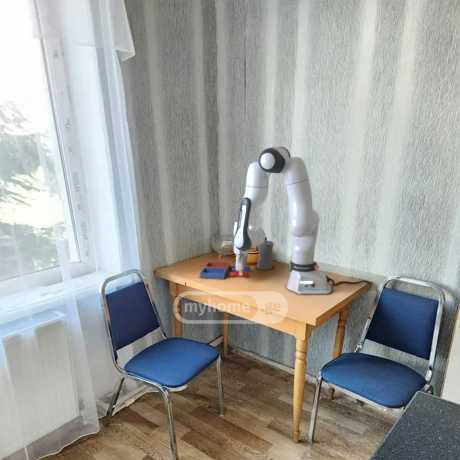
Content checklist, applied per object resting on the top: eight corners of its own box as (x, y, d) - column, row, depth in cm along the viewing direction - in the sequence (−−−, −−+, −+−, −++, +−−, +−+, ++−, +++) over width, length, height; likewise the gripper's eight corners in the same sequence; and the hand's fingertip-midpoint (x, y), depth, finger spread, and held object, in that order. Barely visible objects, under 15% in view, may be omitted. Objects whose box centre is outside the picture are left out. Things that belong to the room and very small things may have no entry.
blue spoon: (250, 270, 228) (250, 265, 227) (249, 272, 225) (249, 267, 224) (232, 269, 230) (232, 264, 229) (231, 271, 227) (231, 266, 225)
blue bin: (226, 273, 223) (226, 268, 222) (223, 279, 215) (223, 274, 214) (204, 272, 225) (204, 267, 224) (200, 277, 217) (200, 272, 216)
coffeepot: (278, 268, 230) (279, 238, 223) (265, 271, 225) (266, 241, 218) (261, 262, 242) (262, 233, 234) (249, 264, 237) (249, 235, 229)
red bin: (230, 267, 233) (230, 262, 232) (227, 272, 225) (227, 267, 224) (208, 266, 235) (208, 261, 234) (204, 271, 227) (204, 266, 226)
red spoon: (248, 275, 220) (248, 270, 219) (247, 277, 217) (247, 272, 216) (229, 274, 222) (229, 269, 221) (228, 276, 218) (228, 271, 217)
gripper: (244, 255, 203) (244, 280, 208) (249, 244, 221) (249, 267, 227) (232, 254, 204) (232, 279, 209) (238, 244, 222) (238, 267, 228)
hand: (241, 273), depth 218 cm, fingers open, 4 cm apart
